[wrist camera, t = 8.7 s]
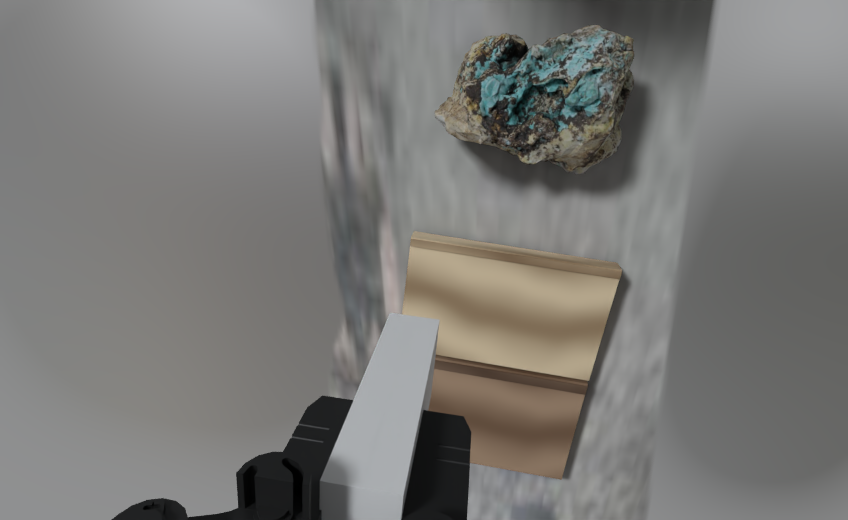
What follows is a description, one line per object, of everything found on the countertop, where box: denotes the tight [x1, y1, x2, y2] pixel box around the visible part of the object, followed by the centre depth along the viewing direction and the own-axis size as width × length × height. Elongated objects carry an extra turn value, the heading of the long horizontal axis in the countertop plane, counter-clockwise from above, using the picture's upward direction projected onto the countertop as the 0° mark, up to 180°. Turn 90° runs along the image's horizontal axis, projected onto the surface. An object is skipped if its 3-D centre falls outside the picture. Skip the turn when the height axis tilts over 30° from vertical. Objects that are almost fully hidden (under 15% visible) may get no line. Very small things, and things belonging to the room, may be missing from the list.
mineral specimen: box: [435, 25, 634, 174], centre depth 33 cm, size 12×9×8 cm
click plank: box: [402, 231, 622, 381], centre depth 40 cm, size 10×16×2 cm, turn 82°
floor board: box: [428, 355, 588, 480], centre depth 44 cm, size 10×16×2 cm, turn 82°
